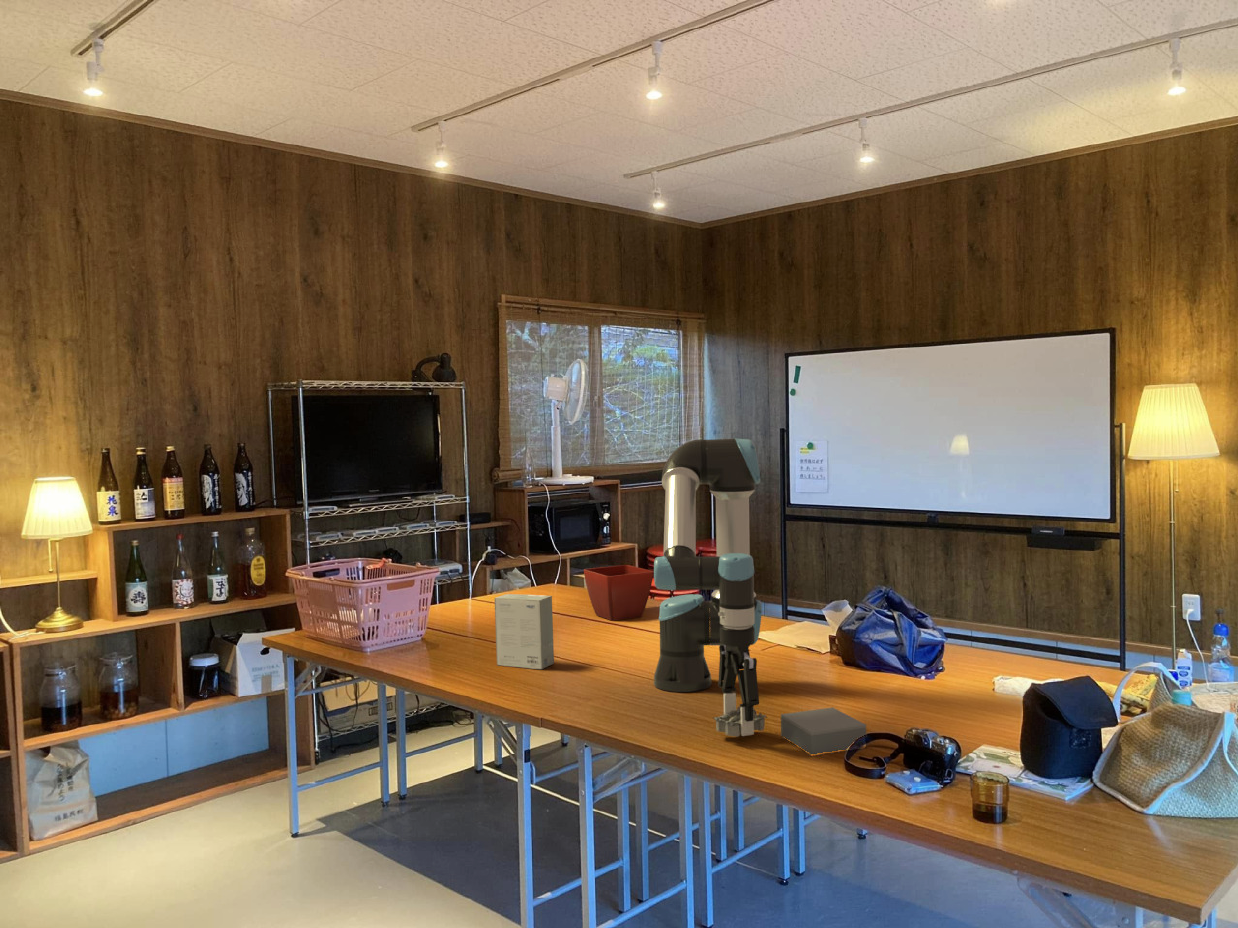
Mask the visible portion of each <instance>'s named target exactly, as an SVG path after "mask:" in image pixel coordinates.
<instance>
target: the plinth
mask: <svg viewBox="0 0 1238 928" xmlns="http://www.w3.org/2000/svg"><path fill="white" fill-rule="evenodd" d="M864 735H866V736H867V724H866V723H864V722H862V721H860V720H858V719H856V718H854V717H852V716H850V715H848V714H846V713H844V712H842V711H840V710H838V709H836V708H835V707H828V708H819V709H818V708H817V709H811V710H810V709H809V710H805V711H796V712H787V713H781V714H780V737H781V736H782V737H785V738H786V739H788V740H790V741H791V742H793V743H794V744H796V745H798V746H799V747H801V748H802V749H804V750H805V751H807V752H809V753H810V754H817V753H823V752H832V751H838V750H846V749H847V748H848V747H849V746H850V745H851V744H852V743H853V742H855V740H856V739H857V738H859V737H862V736H864ZM782 737H781V738H782Z"/></svg>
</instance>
